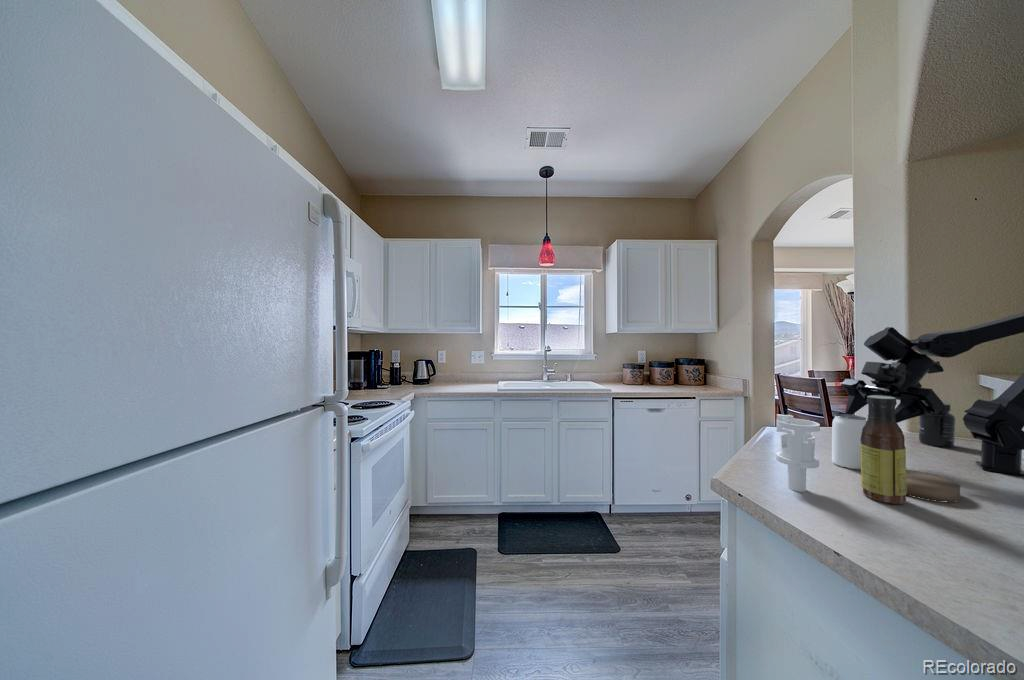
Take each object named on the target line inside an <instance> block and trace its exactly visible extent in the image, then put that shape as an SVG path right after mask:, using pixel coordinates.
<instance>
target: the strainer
mask: <svg viewBox="0 0 1024 680" xmlns="http://www.w3.org/2000/svg"><path fill="white" fill-rule="evenodd" d="M820 430H821V424H820V423H819V422H817V421H813V420H808V419H802V418H794V415H792V414H779V413H778V414H777V413H776V432H778V433H781V434H780V450H779V451H777V452H775V460H776V461H778V462H779V463H781V464H783V465H786V466H787V483H786V485H787V488H788V489H789V490H791V491H795V492H798V493H799V492H801V493H802V492H806V491H807V469H817V468H819V467H820V460H819V458H817V457H816V456H815V446H816V445H815V441H816V439H815V438H816V437H815V436H814V435H812V433H814V432H819V431H820Z"/></svg>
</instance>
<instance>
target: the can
mask: <svg viewBox="0 0 1024 680" xmlns="http://www.w3.org/2000/svg"><path fill="white" fill-rule="evenodd" d="M866 422H867V417H865V416H862V415H857V414H852V415H850V414H845V413H836V414H834V418H833V419H832V426H831V427H832V429H831V430H832V431H831V433H832V434H831V462H832V463H833V464H834V465H835V464H836V465H835V466H837V465H839V466H838V467H840V466H842V467H841V468H843V467H847V468H846V469H848V468H850V469H849V470H854V469H856V470H855V471H861V441H860V439H861V434H862V429H863V427H864V425H865V424H866Z"/></svg>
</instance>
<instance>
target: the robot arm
mask: <svg viewBox="0 0 1024 680" xmlns="http://www.w3.org/2000/svg"><path fill="white" fill-rule="evenodd" d="M1022 333H1024V312H1022V313H1021V312H1020V313H1017V314H1013V315H1009V316H1007V317H1003V318H1000V319H996V320H992V321H989V322H988V321H987V322H985V323H982V324H981V323H980V324H978V325H973V326H970V327H966V328H963V329H961V328H960V329H955V330H945V331H944V330H943V331H937V332H929V333H923V334H921V335H919V336H918V337H917V338H915V339H908V338H907V337H906V336H904V335H903V334H901V333H900V332H899V331H898V330H897V329H896V328H894V327H892V326H886V327H885V328H884V329H883V330H880V331H877V332H876V333H874V334H872V335H870V336H868V337H867V339H866V340H865V341H864V342H863V346H865V347H866V348H867V349H869V350H870V351H871V352H873V353H874V354H875V355H876V356H878V357H879V358H881V359H882V360H883V361H886V362H888V361H893V362H891V363H885V362H877V361H865V363H864V365H863V368H862V371H861V372H860V373H861V375H862V376H863V375H864V376H867V377H868V378H870V382H871V384H872V385H875V386H871V385H868V384H867V383H866V382H865V380H862V379H854V378H845V379H844V380H843V381H842V383H840V386H841V387H842V388H843V390H845V392H846V393H847V394H848V398H847V399H848V400H847V404H846V408H845V412H844V414H850V415H855V413H857V412H858V411H859V410H861V409H863V408H864V407H865V406H867V405H868V403H867V396H870V395H879V396H890V397H894V398H896V401H900V402H899V403H898V405H897V406H895V417H896V423H897V424H898V423H901V422H904V421H906V420H910V419H913V418H914V419H915V418H916V417H920V416H921V415H929V414H931V413H935V414H938V413H940V411H941V410H942V409H943V408H944V403H945V402H943V400H941V399H940V397H939V396H938V394H936V392H935V391H934V390H933V388H927V387H922V386H923V385H922V384H921V383H920V382H921V380H922V379H923V378H924V377H925V376H926V375H927V374H928V375H929V374H935V373H936V374H937V373H943V372H944V371H945V370H944V368H943V366H942V365H941V362H940V361H938V360H936V361H935V360H933V359H932V358H933V357H934V358H935V357H936V358H953V357H956V356H959V355H962V354H965V353H966V352H969V351H970V350H972V349H973V348H975V347H976V346H978V345H981V344H983V343H987V342H991V341H996V340H999V339H1003V338H1007V337H1011V336H1014V335H1015V336H1016V335H1019V334H1022ZM931 357H932V358H931ZM964 413H965V414H964V416H963V418H962V421H963V424H964V426H965V428H966V429H967V430H969V431H970V434H971V436H972V438H973V439H976V440H980V441H981V451H980V452H981V454H980V460H979V461H978V460H975V461H974V463H975V464H976V465H977V466H978V467H979V468H980V469H982V470H985V471H989V472H996V473H1003V474H1008V475H1009V474H1010V475H1016V476H1021V477H1024V470H1023V469H1022V458H1023V455H1022V454H1023V452H1022V451H1023V450H1024V430H1023V429H1024V373H1022V374H1021V375H1020V376H1019V377H1018V378H1017V379H1016V380H1015V381H1014V382H1013V383H1012V384H1011V385H1010V386H1009V387H1007V388H1006V390H1004V392H1002V393H1001V394H1000V395H998V397H996V398H994V399H992V400H984V399H980V398H979V399H977V400H976V401H974V402H973V403H972V405H971V407H969V408H967V409H965V410H964Z"/></svg>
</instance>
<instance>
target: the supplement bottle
mask: <svg viewBox="0 0 1024 680" xmlns="http://www.w3.org/2000/svg"><path fill="white" fill-rule="evenodd" d="M943 403H944V408H943V409H942V410H941V411H940V413H938V414H935V413H931V414H929V415H921V416H918V417H919V419H918V420H919V421H918V422H919V424H918V441H919V443H921V444H923V445H926V444H927V445H926V446H930V445H932V446H931V447H935V446H937V448H943V447H945V448H944V449H950V448H952V449H953V447H955V441H956V417H955V415H953V413H950V412H951V410H952V409H951V404H950V403H946V402H943Z"/></svg>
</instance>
